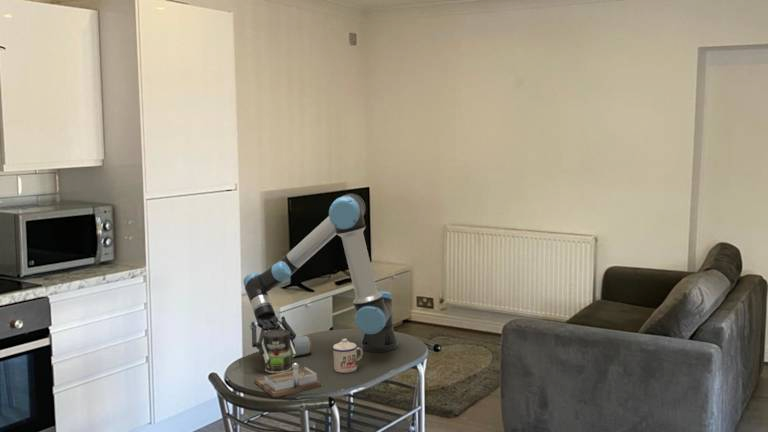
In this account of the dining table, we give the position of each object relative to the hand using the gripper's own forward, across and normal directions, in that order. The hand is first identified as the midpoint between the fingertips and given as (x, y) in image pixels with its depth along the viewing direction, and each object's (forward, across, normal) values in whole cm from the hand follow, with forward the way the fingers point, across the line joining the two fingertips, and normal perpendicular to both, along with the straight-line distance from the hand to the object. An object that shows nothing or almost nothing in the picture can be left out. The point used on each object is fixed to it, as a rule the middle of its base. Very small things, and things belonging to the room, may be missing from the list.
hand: (280, 358), depth 289 cm
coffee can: (+2, 0, -6) cm, 6 cm away
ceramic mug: (-7, -14, -15) cm, 21 cm away
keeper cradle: (+16, +4, +11) cm, 20 cm away
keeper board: (+14, +4, +7) cm, 16 cm away
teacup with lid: (+13, -22, +5) cm, 26 cm away
